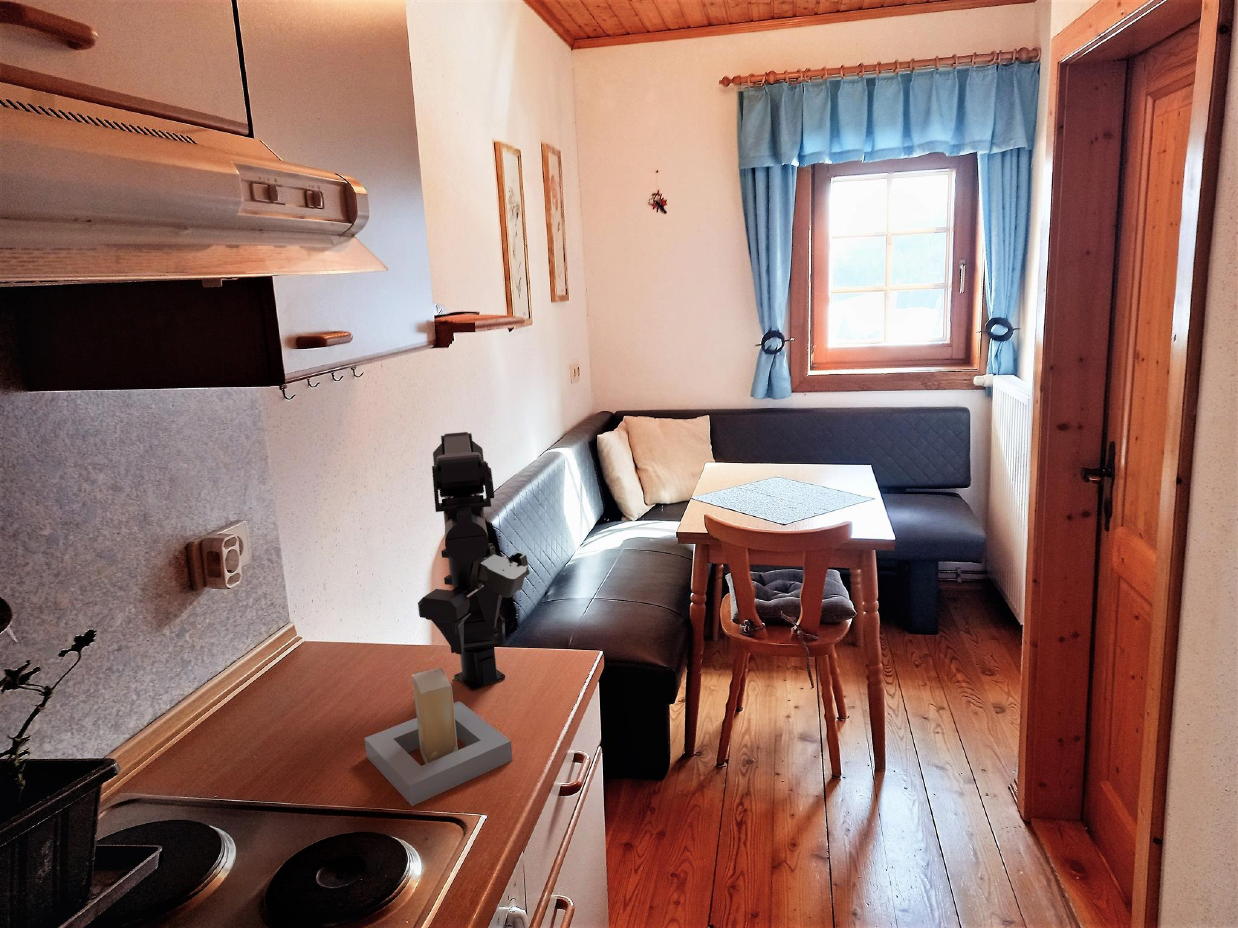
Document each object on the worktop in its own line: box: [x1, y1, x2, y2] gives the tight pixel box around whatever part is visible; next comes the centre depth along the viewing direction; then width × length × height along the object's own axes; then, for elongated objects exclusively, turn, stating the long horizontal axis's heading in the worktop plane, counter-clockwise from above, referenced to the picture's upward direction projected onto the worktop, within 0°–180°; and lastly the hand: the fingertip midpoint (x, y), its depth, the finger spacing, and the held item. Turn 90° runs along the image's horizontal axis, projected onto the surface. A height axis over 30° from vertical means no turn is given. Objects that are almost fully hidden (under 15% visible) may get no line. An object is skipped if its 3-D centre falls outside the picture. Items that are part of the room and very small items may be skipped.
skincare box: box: [411, 667, 459, 765], centre depth 116 cm, size 6×4×12 cm
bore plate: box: [363, 701, 514, 807], centre depth 117 cm, size 15×15×3 cm
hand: (476, 640), depth 124 cm, fingers open, 9 cm apart
